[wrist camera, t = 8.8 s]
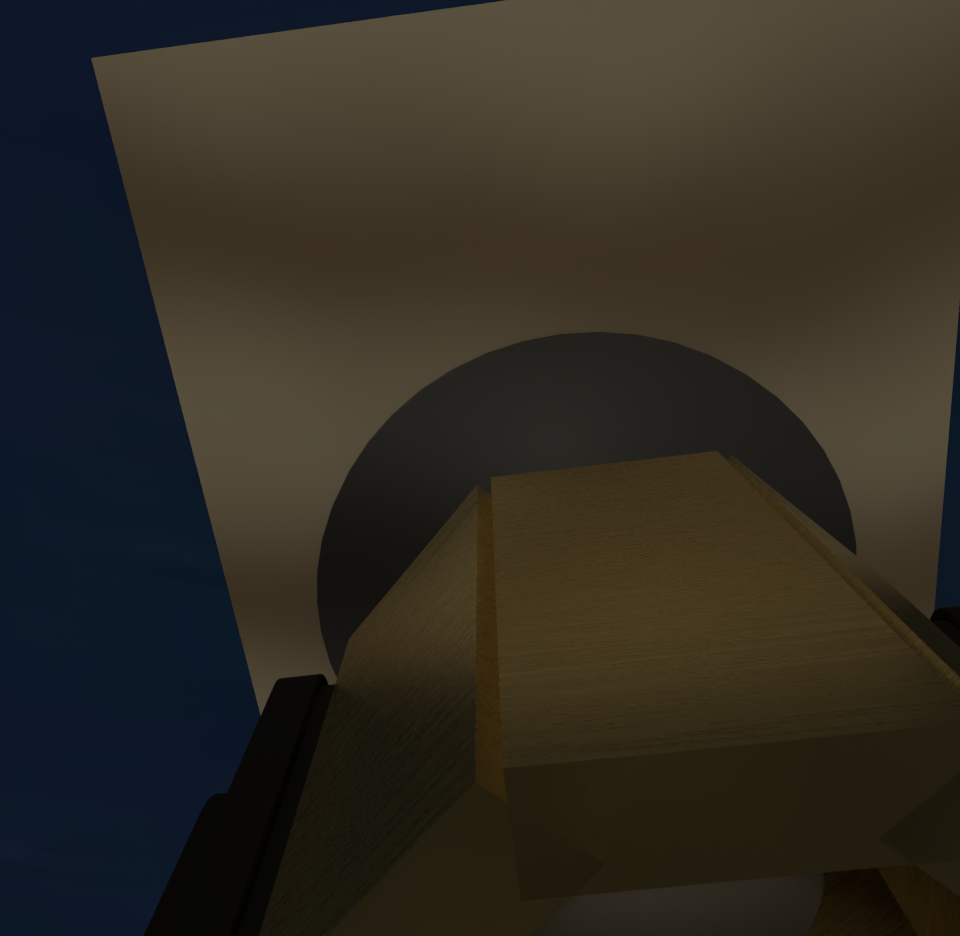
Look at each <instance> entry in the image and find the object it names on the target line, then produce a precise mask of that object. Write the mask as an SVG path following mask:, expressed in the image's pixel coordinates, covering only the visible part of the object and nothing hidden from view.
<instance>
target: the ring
mask: <svg viewBox="0 0 960 936" xmlns="http://www.w3.org/2000/svg"><path fill="white" fill-rule="evenodd" d="M491 493H492V494H490V493H489V492H487V491H486V490H485V489H483V488H482V487H481V486H479V485H478V484H477V485H476V487H475V488H474V489H473V490H472V491H471V493H470V494H469V495H468V496H467V497H466V499H465V500H464V501H463V502H462V503H461V505H460V506H459V507H458V508H457V509H456V511H455V512H454V513H453V514H452V515H451V517H450V518H449V519H448V520H447V521H446V523H445V524H444V525H443V526H442V527H441V529H440V530H439V531H438V532H437V533H436V535H435V536H434V537H433V538H432V539H431V541H430V542H429V543H428V544H427V546H426V547H425V548H424V549H423V550H422V552H421V553H420V554H419V555H418V556H417V558H416V559H415V560H414V561H413V562H412V564H411V565H410V566H409V567H408V568H407V570H406V571H405V572H404V573H403V574H402V576H401V577H400V578H399V579H398V580H397V582H396V583H395V584H394V585H393V586H392V588H391V589H390V590H389V591H388V592H387V594H386V595H385V596H384V597H383V598H382V600H381V601H380V602H379V603H378V604H377V606H376V607H375V608H374V609H373V610H372V612H371V613H370V614H369V615H368V617H367V618H366V619H365V620H364V621H363V623H362V624H361V625H360V626H359V627H358V629H357V630H356V631H355V632H354V633H353V635H352V636H351V637H350V638H349V640H348V644H347V647H346V650H345V654H344V657H343V660H342V664H341V667H340V670H339V673H338V677H337V680H336V683H335V687H334V690H333V693H332V696H331V700H330V703H329V706H328V710H327V713H326V716H325V719H324V723H323V726H322V729H321V733H320V736H319V739H318V743H317V746H316V749H315V752H314V756H313V759H312V762H311V766H310V769H309V772H308V775H307V779H306V782H305V785H304V789H303V792H302V795H301V798H300V802H299V805H298V808H297V812H296V815H295V818H294V822H293V825H292V828H291V831H290V835H289V838H288V841H287V845H286V848H285V851H284V854H283V858H282V861H281V864H280V868H279V871H278V874H277V878H276V881H275V884H274V887H273V891H272V894H271V897H270V901H269V904H268V907H267V910H266V914H265V917H264V920H263V924H262V927H261V930H260V933H259V936H530V935H531V934H532V933H533V932H534V931H535V930H536V929H537V928H538V927H540V926H541V925H542V924H543V923H544V922H545V921H546V920H547V919H548V918H549V917H550V916H551V915H552V914H554V913H555V912H556V911H557V910H558V909H559V908H560V907H561V906H562V905H563V904H564V903H565V902H566V901H568V900H569V899H570V898H571V897H572V896H579V895H590V894H601V893H612V892H622V891H633V890H644V889H654V888H665V887H676V886H686V885H697V884H708V883H718V882H729V881H740V880H751V879H761V878H772V877H783V876H793V875H804V874H815V873H823V875H824V885H823V893H822V899H821V902H820V906H819V909H818V913H817V915H816V917H815V919H814V921H813V923H812V926H811V928H810V929H809V931H808V932H807V934H806V935H805V936H960V647H959V646H958V645H957V644H956V643H954V642H953V641H952V640H951V639H950V638H949V637H948V636H947V635H946V634H945V633H943V632H942V631H941V630H940V629H939V628H938V627H937V626H936V625H935V624H934V623H933V622H931V621H930V620H929V619H928V618H927V617H926V616H925V615H924V614H923V613H922V612H920V611H919V610H918V609H917V608H916V607H915V606H914V605H913V604H912V603H911V602H910V601H908V600H907V599H906V598H905V597H904V596H903V595H902V594H901V593H900V592H899V591H898V590H896V589H895V588H894V587H893V586H892V585H891V584H890V583H889V582H888V581H887V580H885V579H884V578H883V577H882V576H880V575H879V574H878V573H877V572H875V571H874V570H873V569H872V568H871V567H869V566H868V565H867V564H866V563H864V562H863V561H862V560H861V559H859V558H858V557H857V556H856V555H855V554H853V553H852V552H851V551H850V550H848V549H847V548H846V547H845V546H843V545H842V544H841V543H840V542H839V541H837V540H836V539H835V538H834V537H832V536H831V535H830V534H829V533H827V532H826V531H825V530H824V529H823V528H821V527H820V526H819V525H818V524H816V523H815V522H814V521H813V520H811V519H810V518H809V517H808V516H807V515H805V514H804V513H803V512H802V511H800V510H799V509H798V508H797V507H795V506H794V505H793V504H792V503H790V502H789V501H788V500H787V499H786V498H784V497H783V496H782V495H781V494H779V493H778V492H777V491H776V490H774V489H773V488H772V487H771V486H770V485H768V484H767V483H766V482H765V481H763V480H762V479H761V478H760V477H758V476H757V475H756V474H755V473H754V472H752V471H751V470H750V469H749V468H747V467H746V466H745V465H744V464H742V463H741V462H740V461H739V460H738V459H736V458H735V457H734V456H733V455H731V456H730V457H729V458H728V459H727V460H726V459H725V458H724V457H723V456H722V455H721V454H720V453H719V452H718V451H712V452H703V453H694V454H686V455H677V456H668V457H660V458H651V459H642V460H634V461H625V462H617V463H608V464H599V465H591V466H582V467H573V468H565V469H556V470H547V471H539V472H530V473H521V474H513V475H504V476H495V477H491Z"/></svg>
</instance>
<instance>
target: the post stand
mask: <svg viewBox="0 0 960 936" xmlns="http://www.w3.org/2000/svg"><path fill="white" fill-rule="evenodd" d="M91 59H92V63H93V67H94V70H95V74H96V78H97V82H98V86H99V90H100V94H101V98H102V101H103V105H104V109H105V113H106V117H107V121H108V125H109V129H110V132H111V136H112V140H113V144H114V148H115V152H116V156H117V160H118V163H119V167H120V171H121V175H122V179H123V183H124V187H125V191H126V194H127V198H128V202H129V206H130V210H131V214H132V218H133V222H134V225H135V229H136V233H137V237H138V241H139V245H140V249H141V253H142V256H143V260H144V264H145V268H146V272H147V276H148V280H149V284H150V288H151V291H152V295H153V299H154V303H155V307H156V311H157V315H158V319H159V322H160V326H161V330H162V334H163V338H164V342H165V346H166V350H167V353H168V357H169V361H170V365H171V369H172V373H173V377H174V381H175V384H176V388H177V392H178V396H179V400H180V404H181V408H182V412H183V415H184V419H185V423H186V427H187V431H188V435H189V439H190V443H191V446H192V450H193V454H194V458H195V462H196V466H197V470H198V474H199V477H200V481H201V485H202V489H203V493H204V497H205V501H206V505H207V508H208V512H209V516H210V520H211V524H212V528H213V532H214V536H215V540H216V543H217V547H218V551H219V555H220V559H221V563H222V567H223V571H224V574H225V578H226V582H227V586H228V590H229V594H230V598H231V602H232V605H233V609H234V613H235V617H236V621H237V625H238V629H239V633H240V636H241V640H242V644H243V648H244V652H245V656H246V660H247V664H248V667H249V671H250V675H251V679H252V683H253V687H254V691H255V695H256V698H257V702H258V706H259V710H260V714H262V712H263V709H264V707H265V705H266V702H267V700H268V698H269V696H270V693H271V691H272V689H273V686H274V684H275V683H276V681H277V680H278V679H280V678H287V677H296V676H306V675H315V674H323V675H324V676H325V677H326V679H327V681H328V685H332V684H335V683H336V680H337V677H338V673H339V670H340V667H341V664H342V660H343V657H344V654H345V650H346V647H347V644H348V640H349V638H350V637H351V636H352V635H353V633H354V632H355V631H356V630H357V629H358V627H359V626H360V625H361V624H362V623H363V621H364V620H365V619H366V618H367V617H368V615H369V614H370V613H371V612H372V610H373V609H374V608H375V607H376V606H377V604H378V603H379V602H380V601H381V600H382V598H383V597H384V596H385V595H386V594H387V592H388V591H389V590H390V589H391V588H392V586H393V585H394V584H395V583H396V582H397V580H398V579H399V578H400V577H401V576H402V574H403V573H404V572H405V571H406V570H407V568H408V567H409V566H410V565H411V564H412V562H413V561H414V560H415V559H416V558H417V556H418V555H419V554H420V553H421V552H422V550H423V549H424V548H425V547H426V546H427V544H428V543H429V542H430V541H431V539H432V538H433V537H434V536H435V535H436V533H437V532H438V531H439V530H440V529H441V527H442V526H443V525H444V524H445V523H446V521H447V520H448V519H449V518H450V517H451V515H452V514H453V513H454V512H455V511H456V509H457V508H458V507H459V506H460V505H461V503H462V502H463V501H464V500H465V499H466V497H467V496H468V495H469V494H470V493H471V491H472V490H473V489H474V488H475V487H476V485H477V484H478V485H479V486H481V487H482V488H483V489H485V490H486V491H487V492H489V493H490V494H492V493H491V477H495V476H504V475H513V474H521V473H530V472H539V471H547V470H556V469H565V468H573V467H582V466H591V465H599V464H608V463H617V462H625V461H634V460H642V459H651V458H660V457H668V456H677V455H686V454H694V453H703V452H712V451H718V452H719V453H720V454H721V455H722V456H723V457H724V458H725V459H726V460H727V459H728V458H729V457H730V456H731V455H733V456H734V457H735V458H736V459H738V460H739V461H740V462H741V463H742V464H744V465H745V466H746V467H747V468H749V469H750V470H751V471H752V472H754V473H755V474H756V475H757V476H758V477H760V478H761V479H762V480H763V481H765V482H766V483H767V484H768V485H770V486H771V487H772V488H773V489H774V490H776V491H777V492H778V493H779V494H781V495H782V496H783V497H784V498H786V499H787V500H788V501H789V502H790V503H792V504H793V505H794V506H795V507H797V508H798V509H799V510H800V511H802V512H803V513H804V514H805V515H807V516H808V517H809V518H810V519H811V520H813V521H814V522H815V523H816V524H818V525H819V526H820V527H821V528H823V529H824V530H825V531H826V532H827V533H829V534H830V535H831V536H832V537H834V538H835V539H836V540H837V541H839V542H840V543H841V544H842V545H843V546H845V547H846V548H847V549H848V550H850V551H851V552H852V553H853V554H855V555H856V556H857V557H858V558H859V559H861V560H862V561H863V562H864V563H866V564H867V565H868V566H869V567H871V568H872V569H873V570H874V571H875V572H877V573H878V574H879V575H880V576H882V577H883V578H884V579H885V580H887V581H888V582H889V583H890V584H891V585H892V586H893V587H894V588H895V589H896V590H898V591H899V592H900V593H901V594H902V595H903V596H904V597H905V598H906V599H907V600H908V601H910V602H911V603H912V604H913V605H914V606H915V607H916V608H917V609H918V610H919V611H920V612H922V613H923V614H924V615H925V616H926V617H927V618H928V619H929V620H930V618H931V616H932V614H933V612H934V606H935V594H936V582H937V570H938V557H939V545H940V533H941V521H942V509H943V496H944V484H945V472H946V460H947V448H948V436H949V423H950V411H951V399H952V387H953V375H954V362H955V350H956V338H957V326H958V314H959V301H960V0H506V1H499V2H492V3H485V4H478V5H470V6H463V7H456V8H449V9H442V10H434V11H427V12H420V13H413V14H406V15H398V16H391V17H384V18H377V19H370V20H362V21H355V22H348V23H341V24H334V25H326V26H319V27H312V28H305V29H298V30H290V31H283V32H276V33H269V34H262V35H254V36H247V37H240V38H233V39H226V40H218V41H211V42H204V43H197V44H190V45H182V46H175V47H168V48H161V49H154V50H146V51H139V52H132V53H125V54H118V55H110V56H103V57H96V58H91ZM823 885H824V875H823V873H815V874H804V875H793V876H783V877H772V878H761V879H751V880H740V881H729V882H718V883H708V884H697V885H686V886H676V887H665V888H654V889H644V890H633V891H622V892H612V893H601V894H590V895H579V896H572V897H571V898H570V899H569V900H568V901H566V902H565V903H564V904H563V905H562V906H561V907H560V908H559V909H558V910H557V911H556V912H555V913H554V914H552V915H551V916H550V917H549V918H548V919H547V920H546V921H545V922H544V923H543V924H542V925H541V926H540V927H538V928H537V929H536V930H535V931H534V932H533V933H532V934H531V935H530V936H805V935H806V934H807V932H808V931H809V929H810V928H811V926H812V923H813V921H814V919H815V917H816V915H817V913H818V909H819V906H820V902H821V899H822V893H823Z"/></svg>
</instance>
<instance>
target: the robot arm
mask: <svg viewBox="0 0 960 936" xmlns="http://www.w3.org/2000/svg"><path fill="white" fill-rule="evenodd" d="M930 621H931V622H933V623H934V624H935V625H936V626H937V627H938V628H939V629H940V630H941V631H942V632H943V633H945V634H946V635H947V636H948V637H949V638H950V639H951V640H952V641H953V642H954V643H956V644H957V645H958V646H959V647H960V606H956V607H947V608H939V609H937V610H935V611H934V612H933V614H932V616H931V618H930ZM334 687H335V684H332V685H328V681H327V679H326V677H325V676H324V675H323V674H315V675H306V676H296V677H287V678H280V679H278V680H277V681H276V683H275V684H274V686H273V689H272V691H271V693H270V696H269V698H268V700H267V702H266V705H265V707H264V709H263V712H262V714H261V716H260V719H259V721H258V723H257V726H256V728H255V730H254V733H253V735H252V737H251V739H250V742H249V744H248V746H247V749H246V751H245V753H244V756H243V758H242V760H241V763H240V765H239V767H238V770H237V772H236V774H235V776H234V779H233V781H232V783H231V786H230V788H229V790H228V793H222V794H215V795H213V796H212V797H211V798H209V799H208V801H207V802H206V804H205V805H204V807H203V809H202V811H201V813H200V815H199V817H198V819H197V821H196V823H195V826H194V828H193V830H192V832H191V834H190V836H189V839H188V841H187V843H186V845H185V847H184V849H183V852H182V854H181V856H180V858H179V860H178V862H177V865H176V867H175V869H174V871H173V873H172V875H171V878H170V880H169V882H168V884H167V886H166V888H165V890H164V893H163V895H162V897H161V899H160V901H159V903H158V906H157V908H156V910H155V912H154V914H153V916H152V919H151V921H150V923H149V925H148V927H147V929H146V932H145V934H144V936H259V933H260V930H261V927H262V924H263V920H264V917H265V914H266V910H267V907H268V904H269V901H270V897H271V894H272V891H273V887H274V884H275V881H276V878H277V874H278V871H279V868H280V864H281V861H282V858H283V854H284V851H285V848H286V845H287V841H288V838H289V835H290V831H291V828H292V825H293V822H294V818H295V815H296V812H297V808H298V805H299V802H300V798H301V795H302V792H303V789H304V785H305V782H306V779H307V775H308V772H309V769H310V766H311V762H312V759H313V756H314V752H315V749H316V746H317V743H318V739H319V736H320V733H321V729H322V726H323V723H324V719H325V716H326V713H327V710H328V706H329V703H330V700H331V696H332V693H333V690H334Z"/></svg>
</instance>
